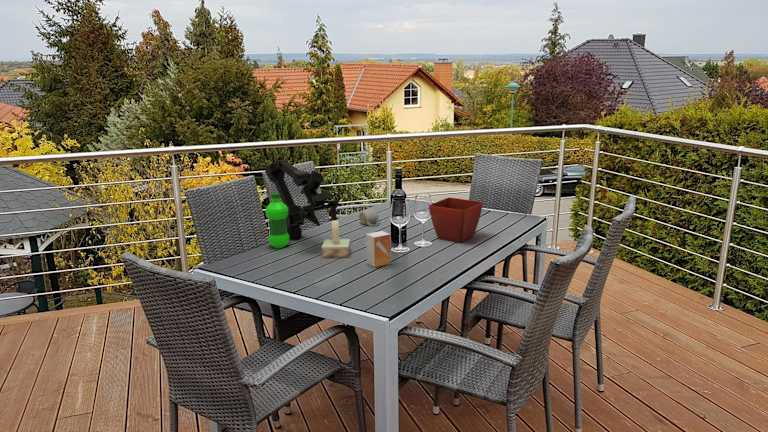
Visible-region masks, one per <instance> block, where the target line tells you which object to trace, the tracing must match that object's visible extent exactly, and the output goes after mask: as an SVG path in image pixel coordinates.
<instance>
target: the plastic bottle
mask: <svg viewBox="0 0 768 432" xmlns="http://www.w3.org/2000/svg"><path fill="white" fill-rule="evenodd" d="M270 199H272V200H271V202H270V203H269V204H268V205H267V206H266V207H265V211H264V213H265V217H266V218H267V219H268V223H269V224H268V225H269V235H268V239H267V240H268V241H267V242H268V243H269V244H270V246H272V247H273V248H276V249H282V248H285V247H286V246H287V245H288V244H289V242H290V239H289V234H288V233H287V227H286V217H287V216H288V208H287V206H286V205H285V204H284V203H283V201H282V200H281V201H280V199H281V197H280V193H279V192H273V193H270Z"/></svg>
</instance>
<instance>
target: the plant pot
mask: <svg viewBox="0 0 768 432" xmlns="http://www.w3.org/2000/svg"><path fill="white" fill-rule="evenodd" d="M483 204H484V203H483V201H477V200H471V199H463V198H457V197H447V198H444V199H442V200H439V201H436V202H433V203H431V204H428V209H429V214H430V218H431V223H432V225H433V228H434V232H435V233H436V236H437V238H438V239H439V240H445V241H450V242H454V243H463V242H464V241H468V240H469V239H470V238H473V237H474V235H475V233H476V230H477V227H478V226H479V222H480V218H481V214H482V210H483Z"/></svg>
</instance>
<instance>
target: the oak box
mask: <svg viewBox="0 0 768 432" xmlns="http://www.w3.org/2000/svg"><path fill="white" fill-rule="evenodd" d="M350 244H351V243H349V247H348V249H322V248H321V250H322V251H321V252H322V253H321V254H322V259H326V258H328V259H329V258H331V259H333V258H334V259H335V258H349V257H350V256H349V255H350V251H351V246H350Z"/></svg>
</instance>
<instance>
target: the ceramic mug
mask: <svg viewBox="0 0 768 432" xmlns="http://www.w3.org/2000/svg"><path fill="white" fill-rule="evenodd" d="M358 218H359V222H360V223H361V224H362V225H367V226H369V227H377V226H378V224H379V214H378V211H377V209H375V208H370V209H366V210H363V211H361V212H360V213H359V215H358Z"/></svg>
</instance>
